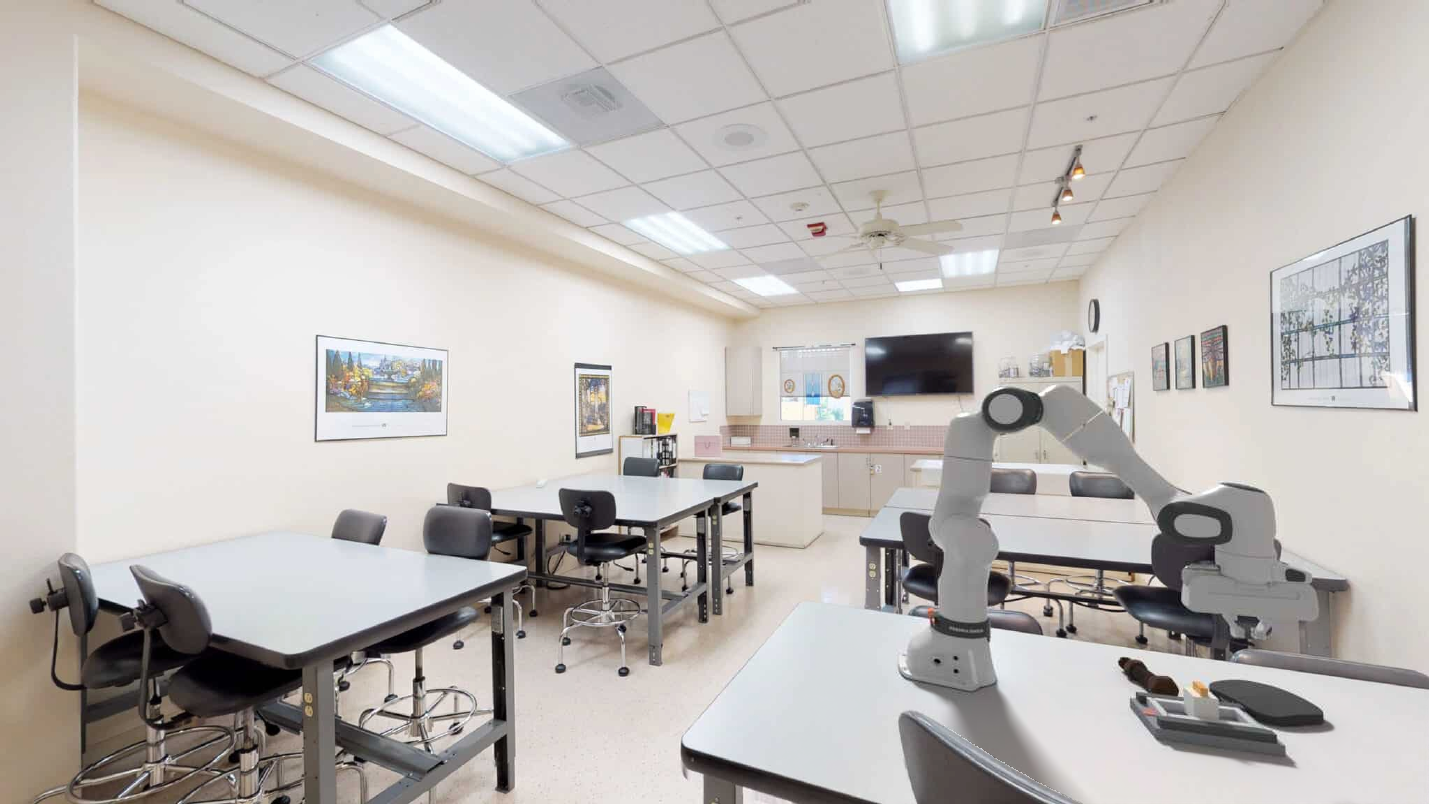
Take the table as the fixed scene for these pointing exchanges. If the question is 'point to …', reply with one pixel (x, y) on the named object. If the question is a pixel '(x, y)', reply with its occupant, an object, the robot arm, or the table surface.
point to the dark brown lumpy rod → (1148, 677)
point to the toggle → (1200, 702)
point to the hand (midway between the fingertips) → (1248, 637)
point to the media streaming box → (1268, 703)
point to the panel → (1203, 737)
